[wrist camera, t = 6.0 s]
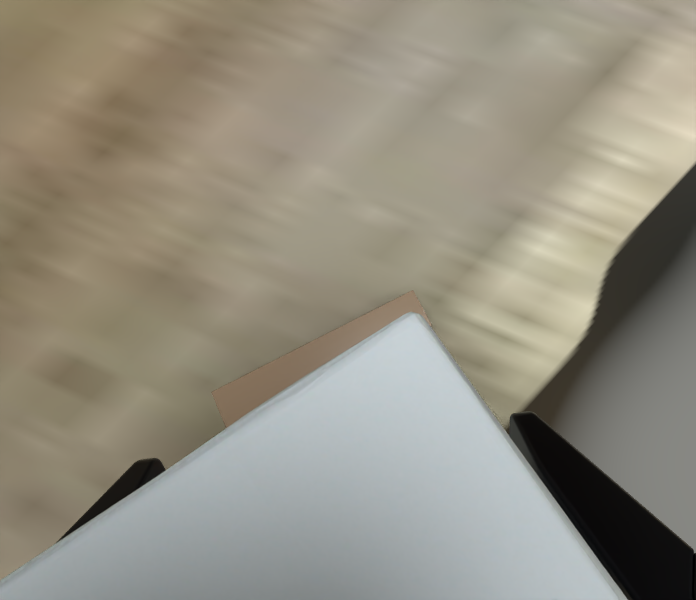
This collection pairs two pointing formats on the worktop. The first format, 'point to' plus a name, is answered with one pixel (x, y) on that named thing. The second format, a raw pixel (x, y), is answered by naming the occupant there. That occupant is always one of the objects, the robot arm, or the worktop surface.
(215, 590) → the skincare box
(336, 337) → the plate
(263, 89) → the worktop surface
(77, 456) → the worktop surface
